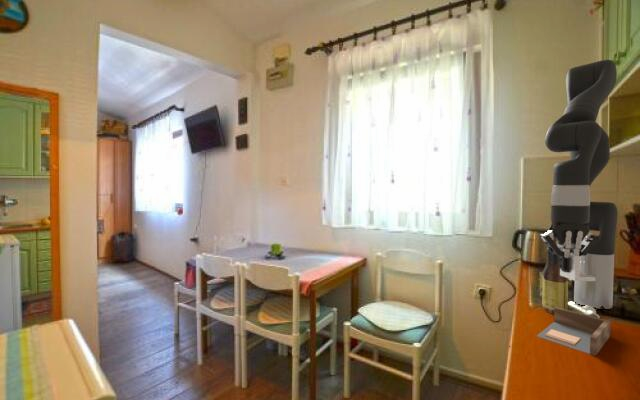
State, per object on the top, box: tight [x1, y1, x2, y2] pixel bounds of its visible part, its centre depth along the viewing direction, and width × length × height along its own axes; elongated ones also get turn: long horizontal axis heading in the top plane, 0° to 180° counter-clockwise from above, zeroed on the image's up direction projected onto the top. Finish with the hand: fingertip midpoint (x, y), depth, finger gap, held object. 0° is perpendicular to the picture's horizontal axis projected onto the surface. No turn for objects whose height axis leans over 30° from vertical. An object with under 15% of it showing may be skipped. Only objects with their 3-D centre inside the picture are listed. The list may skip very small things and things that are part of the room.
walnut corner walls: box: [553, 307, 612, 357], centre depth 77 cm, size 14×11×4 cm
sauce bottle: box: [541, 246, 569, 315], centre depth 92 cm, size 6×6×20 cm
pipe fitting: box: [567, 300, 600, 318], centre depth 88 cm, size 8×4×7 cm
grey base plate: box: [536, 321, 593, 355], centre depth 78 cm, size 14×11×1 cm
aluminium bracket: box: [560, 254, 595, 282], centre depth 76 cm, size 6×4×6 cm
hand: (567, 271), depth 77 cm, fingers closed on aluminium bracket, 1 cm apart
